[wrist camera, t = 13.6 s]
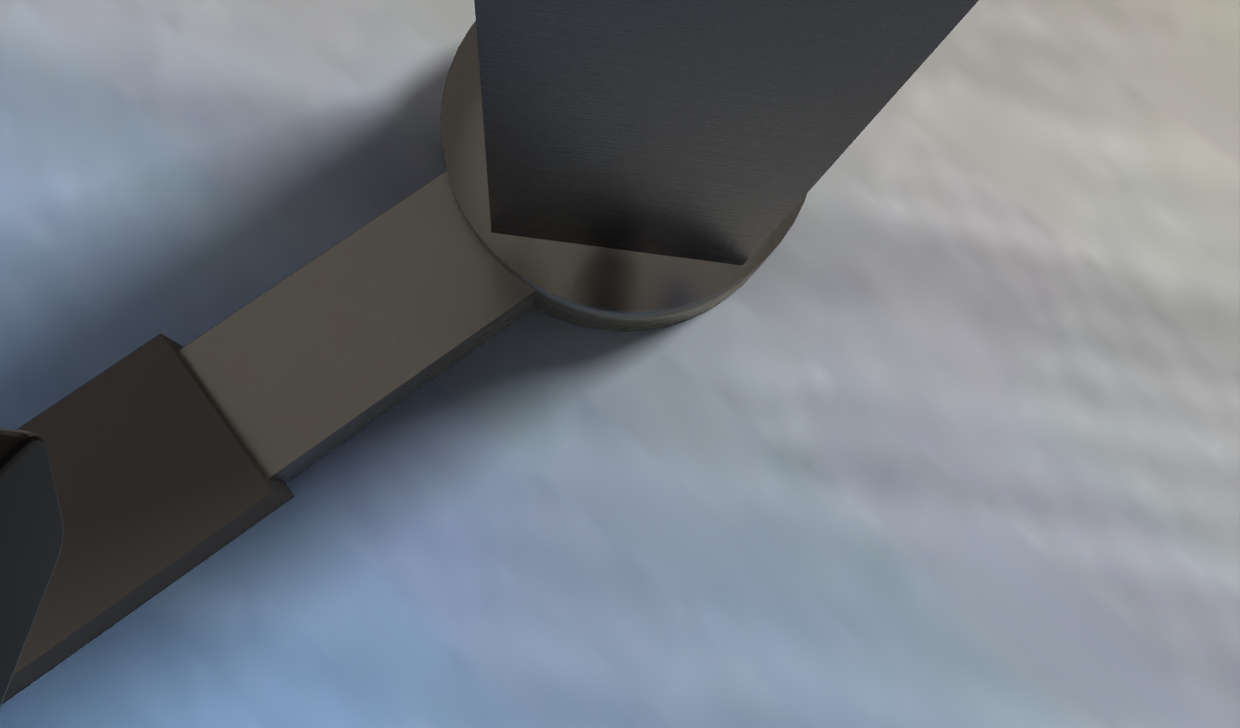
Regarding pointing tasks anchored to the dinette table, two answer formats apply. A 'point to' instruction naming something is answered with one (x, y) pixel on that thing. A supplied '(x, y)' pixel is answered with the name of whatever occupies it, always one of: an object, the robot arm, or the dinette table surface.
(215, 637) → the dinette table surface
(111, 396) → the ratchet
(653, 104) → the open-top metal box
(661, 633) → the dinette table surface
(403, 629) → the dinette table surface
